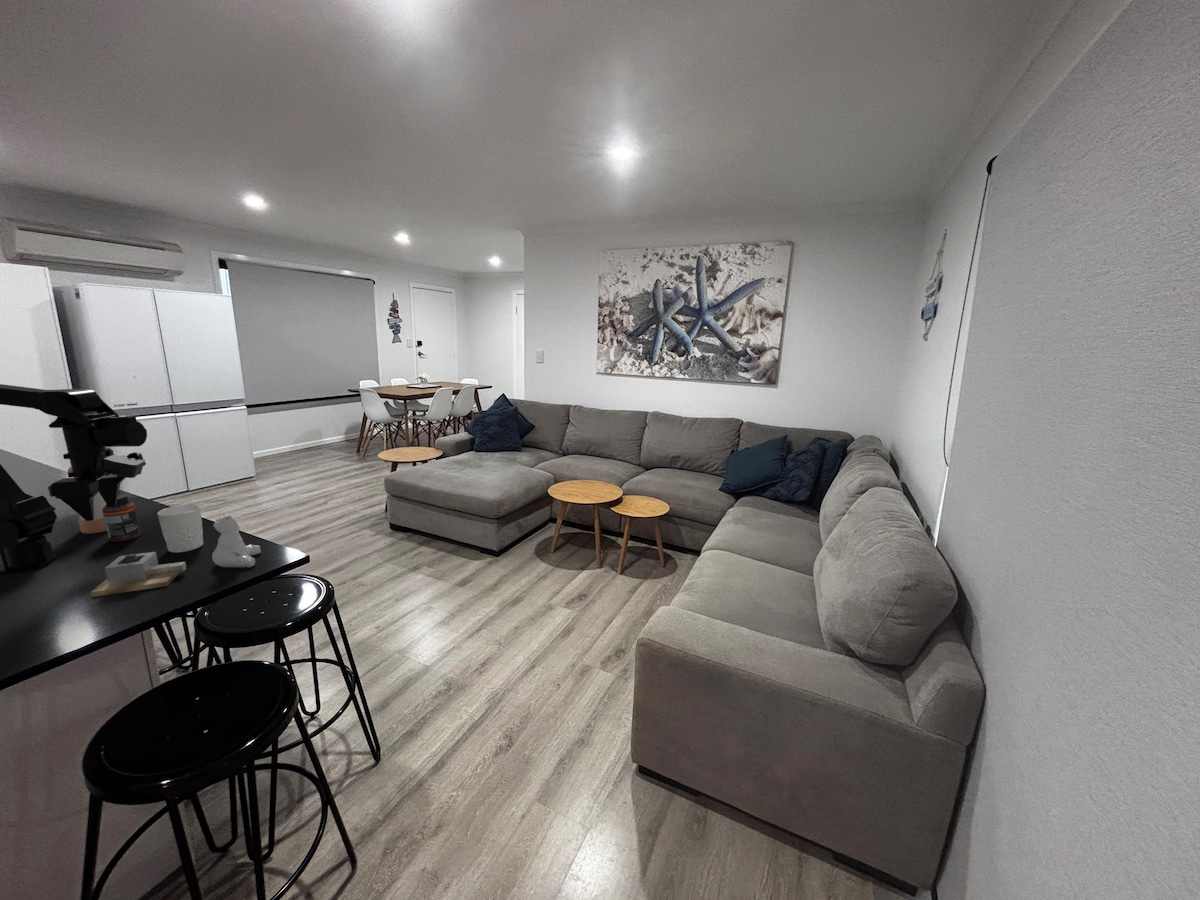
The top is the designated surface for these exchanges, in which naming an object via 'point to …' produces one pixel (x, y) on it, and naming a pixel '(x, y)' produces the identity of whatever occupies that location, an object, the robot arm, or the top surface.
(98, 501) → the pepper shaker
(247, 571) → the top surface
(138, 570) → the white handled block
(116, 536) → the supplement bottle
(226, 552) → the sitting furry creature
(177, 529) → the white cup
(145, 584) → the board
